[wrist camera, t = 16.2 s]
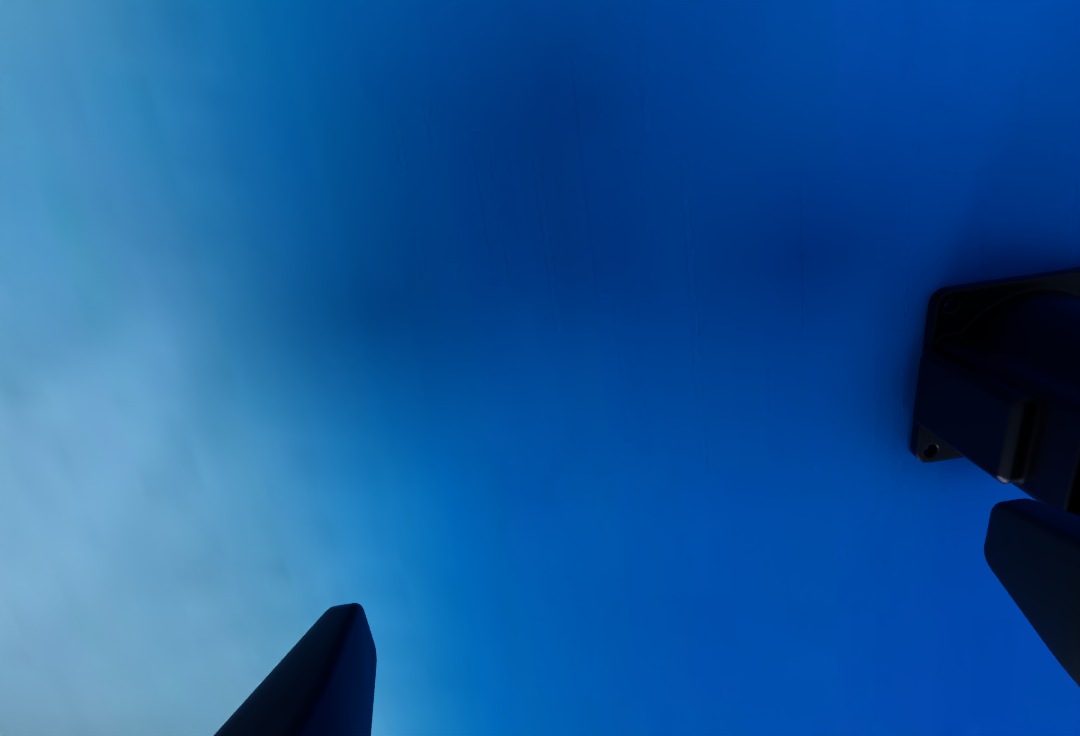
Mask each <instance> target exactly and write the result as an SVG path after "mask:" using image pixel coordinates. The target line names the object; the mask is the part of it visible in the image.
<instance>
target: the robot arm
mask: <svg viewBox="0 0 1080 736" xmlns="http://www.w3.org/2000/svg"><path fill="white" fill-rule="evenodd" d="M950 298H951V301H950V304H949V305H948V306H947V307H946V308H944V305H945V302H946V301H947V300H948V299H950ZM913 419H914V421H913V429H912V437H911V445H910V450H911V453H912V454H913V455H914V456H915V457H917V458H918V459H919V460H920V461H923V462H935V461H941V460H948V459H954V458H961V457H966V458H967V459H968V460H970V461H971V462H973V463H974V464H975V465H977V466H978V467H980V468H981V469H982V470H984V471H985V472H987V473H988V474H989V475H991V476H992V477H993V478H995V479H996V480H998V481H999V482H1001V483H1003V484H1007V483H1012V484H1013V485H1015V486H1016V487H1018V488H1019V489H1021V490H1022V491H1023V492H1025V493H1026V494H1028V495H1029V496H1031V497H1032V498H1033V499H1035V500H1036V501H1034V500H1031V499H1016V500H1010V501H1003V502H999V503H997V504H995V506H994V507H993V508H992V510H991V514H990V519H989V524H988V529H987V534H986V539H985V545H984V555H985V558H986V561H987V563H988V565H989V567H990V568H991V570H992V571H993V572H994V574H995V575H996V577H997V578H998V579H999V581H1000V582H1001V583H1002V585H1003V586H1004V588H1005V589H1006V590H1007V592H1008V593H1009V595H1010V596H1011V597H1012V599H1013V600H1014V601H1015V603H1016V604H1017V606H1018V607H1019V608H1020V610H1021V611H1022V612H1023V614H1024V615H1025V617H1026V618H1027V619H1028V621H1029V622H1030V623H1031V625H1032V626H1033V628H1034V629H1035V630H1036V632H1037V633H1038V635H1039V636H1040V637H1041V639H1042V640H1043V641H1044V643H1045V644H1046V646H1047V647H1048V648H1049V650H1050V651H1051V652H1052V654H1053V655H1054V656H1055V658H1056V659H1057V660H1058V661H1059V663H1060V664H1061V665H1062V667H1063V668H1064V669H1065V670H1066V672H1067V673H1068V674H1069V675H1070V676H1071V678H1072V679H1073V680H1074V681H1075V682H1076V684H1077V685H1078V686H1079V687H1080V267H1079V268H1072V269H1065V270H1058V271H1052V272H1045V273H1038V274H1031V275H1024V276H1017V277H1011V278H1004V279H997V280H990V281H983V282H976V283H969V284H963V285H956V286H949V287H944V288H941V289H939V290H937V291H936V292H935V293H934V294H933V295H932V296H931V298H930V301H929V304H928V312H927V320H926V327H925V335H924V343H923V351H922V356H921V359H920V367H919V375H918V383H917V391H916V399H915V407H914V414H913ZM928 445H930V446H929V448H928V449H927V450H925V448H926V447H927V446H928ZM1037 501H1038V502H1037ZM376 663H377V659H376V648H375V644H374V641H373V637H372V634H371V631H370V628H369V625H368V621H367V618H366V615H365V612H364V609H363V608H362V606H361V605H360V604H358V603H351V604H344V605H338V606H333V607H331V608H329V609H328V610H327V611H326V612H325V613H324V614H323V615H322V616H321V617H320V618H319V619H318V620H317V622H316V623H315V624H314V625H313V626H312V627H311V628H310V629H309V630H308V632H307V633H306V634H305V635H304V636H303V637H302V638H301V639H300V640H299V642H298V643H297V644H296V645H295V646H294V647H293V648H292V649H291V650H290V652H289V653H288V654H287V655H286V656H285V657H284V658H283V659H282V660H281V662H280V663H279V664H278V665H277V666H276V667H275V668H274V669H273V670H272V672H271V673H270V674H269V675H268V676H267V677H266V678H265V679H264V680H263V681H262V683H261V684H260V685H259V686H258V687H257V688H256V689H255V690H254V691H253V693H252V694H251V695H250V696H249V697H248V698H247V699H246V700H245V701H244V703H243V704H242V705H241V706H240V707H239V708H238V709H237V710H236V711H235V713H234V714H233V715H232V716H231V717H230V718H229V719H228V720H227V721H226V723H225V724H224V725H223V726H222V727H221V728H220V729H219V730H218V731H217V733H216V734H215V735H214V736H371V727H372V714H373V702H374V689H375V676H376Z"/></svg>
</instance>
